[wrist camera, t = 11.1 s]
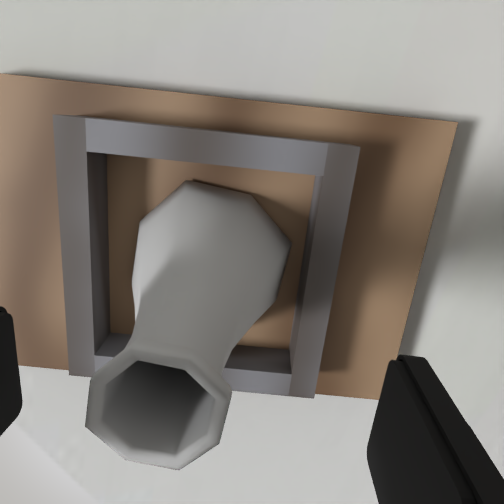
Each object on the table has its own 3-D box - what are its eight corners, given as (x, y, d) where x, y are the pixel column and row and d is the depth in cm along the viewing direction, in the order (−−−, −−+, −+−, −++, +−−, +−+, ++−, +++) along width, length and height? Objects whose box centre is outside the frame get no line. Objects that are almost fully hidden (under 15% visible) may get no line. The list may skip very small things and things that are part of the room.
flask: (238, 351, 19) (217, 569, 10) (108, 282, 18) (-54, 453, 9) (319, 235, 17) (390, 370, 8) (178, 149, 16) (66, 186, 7)
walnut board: (441, 122, 17) (485, 122, 14) (377, 382, 22) (398, 429, 18) (-7, 74, 17) (-72, 62, 14) (22, 348, 21) (-21, 389, 18)
